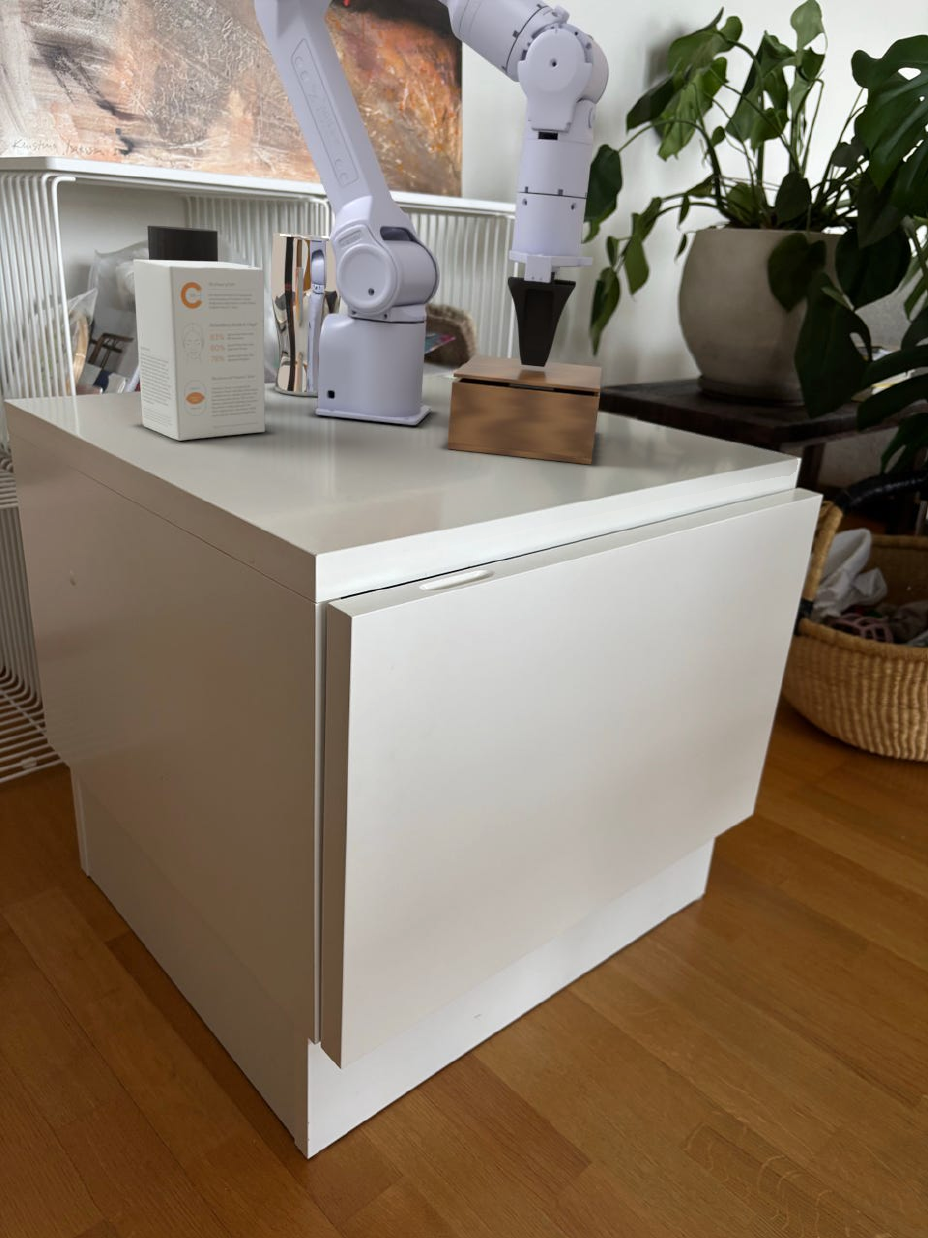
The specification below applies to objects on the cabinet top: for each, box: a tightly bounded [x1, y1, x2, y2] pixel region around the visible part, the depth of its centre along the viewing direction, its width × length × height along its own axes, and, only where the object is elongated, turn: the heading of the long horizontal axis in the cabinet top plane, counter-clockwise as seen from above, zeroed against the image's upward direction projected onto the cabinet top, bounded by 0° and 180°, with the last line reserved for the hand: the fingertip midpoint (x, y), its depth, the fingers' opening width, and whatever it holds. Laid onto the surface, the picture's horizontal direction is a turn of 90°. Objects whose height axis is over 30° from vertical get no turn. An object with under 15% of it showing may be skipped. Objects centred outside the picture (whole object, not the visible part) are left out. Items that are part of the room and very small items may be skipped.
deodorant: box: [146, 225, 219, 262], centre depth 88 cm, size 6×6×15 cm
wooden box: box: [447, 362, 602, 465], centre depth 85 cm, size 12×13×6 cm
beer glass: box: [270, 232, 342, 397], centre depth 97 cm, size 7×7×15 cm
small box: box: [132, 258, 266, 442], centre depth 77 cm, size 8×6×13 cm
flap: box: [466, 354, 603, 378], centre depth 87 cm, size 12×6×1 cm, turn 82°
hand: (533, 364), depth 85 cm, fingers closed
